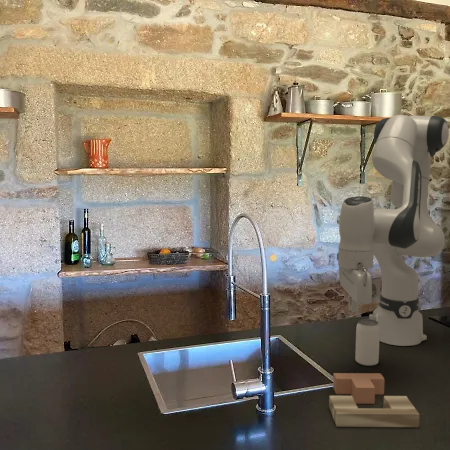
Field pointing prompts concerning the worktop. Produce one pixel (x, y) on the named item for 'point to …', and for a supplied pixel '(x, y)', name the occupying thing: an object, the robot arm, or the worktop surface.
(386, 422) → the dock
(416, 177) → the robot arm
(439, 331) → the worktop surface
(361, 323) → the can
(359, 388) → the t block
